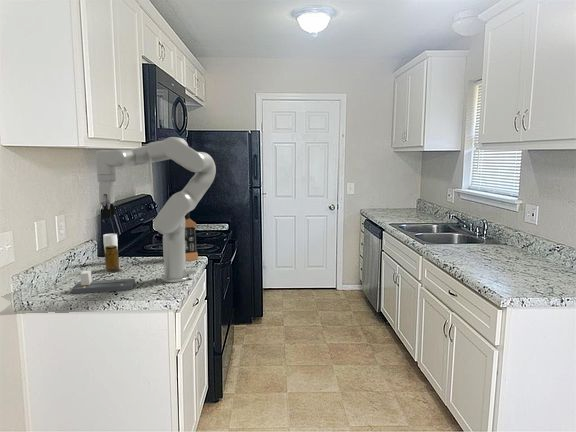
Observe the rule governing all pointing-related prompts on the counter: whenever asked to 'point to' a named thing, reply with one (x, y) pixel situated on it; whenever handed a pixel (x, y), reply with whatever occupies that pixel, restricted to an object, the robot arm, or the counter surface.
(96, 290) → the fader panel
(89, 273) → the fader knob
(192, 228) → the whiskey bottle
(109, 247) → the condiment
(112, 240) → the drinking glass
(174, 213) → the robot arm
